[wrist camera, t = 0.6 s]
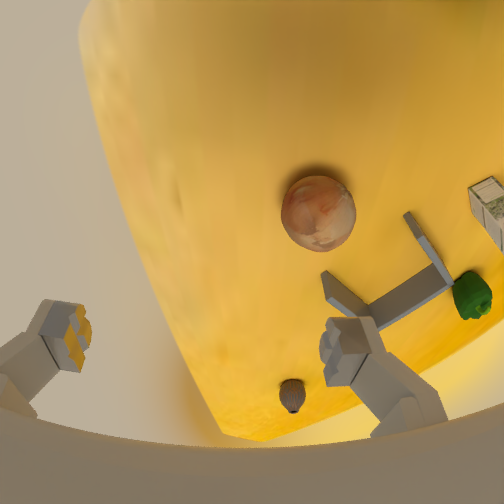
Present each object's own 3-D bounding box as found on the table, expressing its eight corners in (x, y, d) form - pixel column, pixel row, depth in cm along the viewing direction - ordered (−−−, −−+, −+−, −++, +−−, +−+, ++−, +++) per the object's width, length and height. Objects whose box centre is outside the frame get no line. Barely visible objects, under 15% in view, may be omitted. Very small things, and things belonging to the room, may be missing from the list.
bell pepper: (458, 299, 61) (474, 335, 53) (441, 286, 58) (459, 325, 50) (485, 275, 56) (505, 310, 48) (470, 260, 53) (492, 298, 46)
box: (408, 211, 46) (423, 235, 42) (442, 261, 53) (454, 283, 49) (320, 274, 55) (325, 300, 51) (365, 310, 62) (372, 335, 57)
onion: (360, 181, 44) (381, 223, 36) (322, 231, 49) (334, 278, 42) (301, 150, 41) (313, 188, 33) (266, 207, 47) (269, 253, 39)
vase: (298, 374, 79) (300, 405, 72) (308, 384, 83) (311, 412, 76) (274, 381, 81) (275, 411, 74) (285, 390, 85) (287, 418, 78)
